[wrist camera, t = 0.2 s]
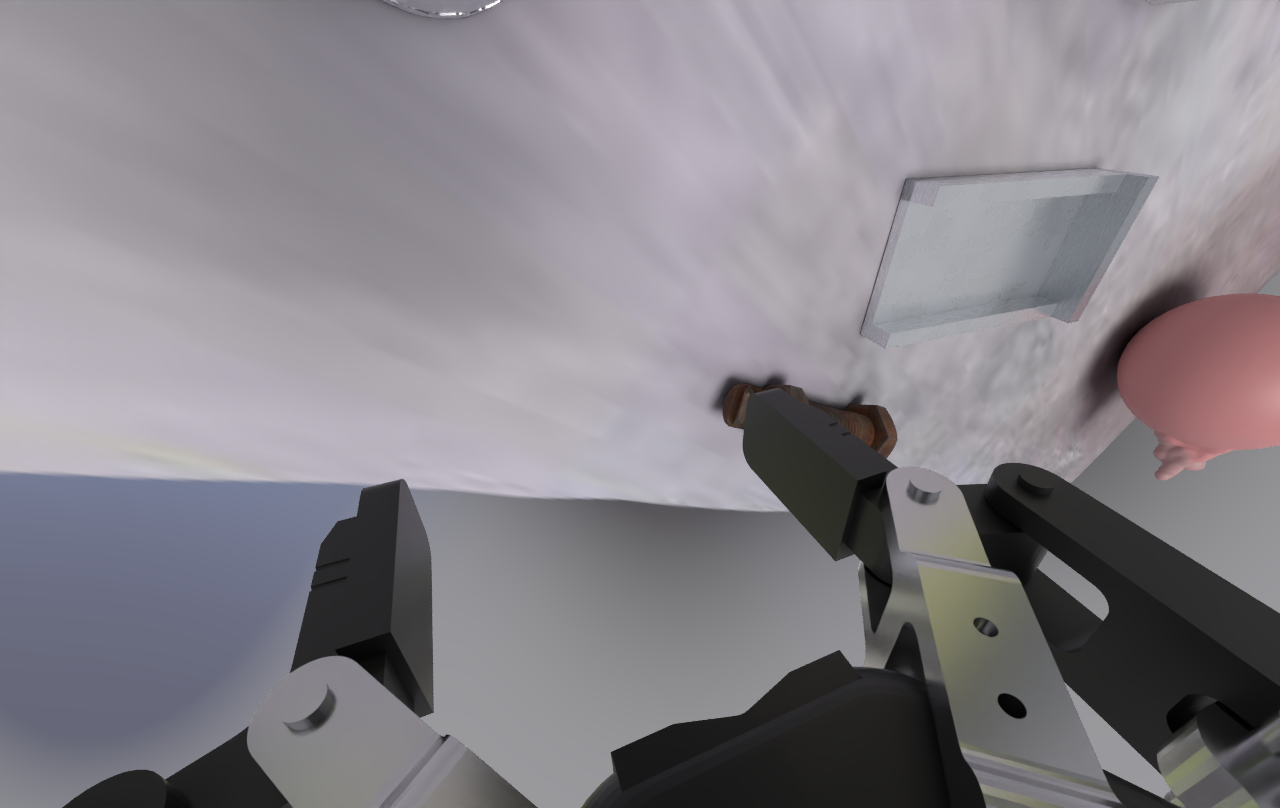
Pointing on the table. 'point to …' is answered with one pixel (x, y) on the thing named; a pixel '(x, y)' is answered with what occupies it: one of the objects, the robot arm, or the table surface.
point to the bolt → (858, 419)
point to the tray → (999, 250)
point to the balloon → (1206, 379)
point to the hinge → (1165, 1)
